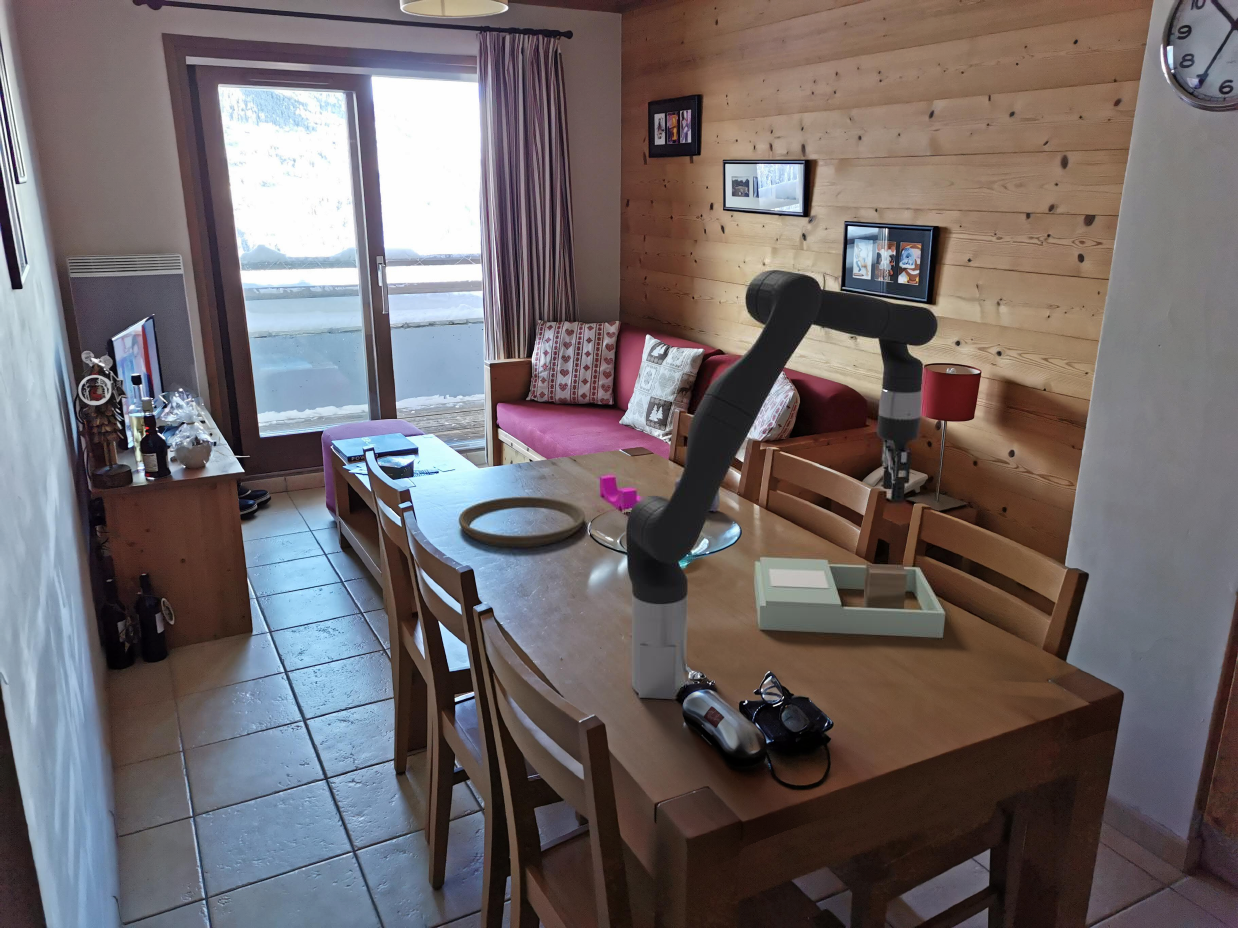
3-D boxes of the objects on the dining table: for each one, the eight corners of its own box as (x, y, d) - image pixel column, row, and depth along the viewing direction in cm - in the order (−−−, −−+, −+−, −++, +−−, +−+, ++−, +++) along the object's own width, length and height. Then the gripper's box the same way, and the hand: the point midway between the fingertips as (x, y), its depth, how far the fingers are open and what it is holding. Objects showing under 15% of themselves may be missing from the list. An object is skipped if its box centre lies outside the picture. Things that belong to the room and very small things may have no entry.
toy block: (645, 516, 234) (645, 488, 232) (623, 519, 231) (623, 491, 229) (620, 499, 247) (620, 473, 245) (600, 502, 244) (599, 476, 242)
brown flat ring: (562, 505, 242) (562, 489, 241) (602, 544, 215) (602, 526, 213) (448, 519, 231) (447, 503, 230) (475, 562, 204) (474, 543, 202)
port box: (942, 637, 167) (946, 607, 166) (759, 629, 171) (760, 599, 169) (917, 589, 188) (919, 562, 187) (754, 583, 192) (755, 556, 190)
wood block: (903, 616, 176) (907, 573, 174) (866, 614, 177) (870, 572, 174) (898, 606, 181) (902, 565, 178) (863, 605, 181) (866, 563, 179)
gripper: (928, 422, 160) (920, 507, 165) (911, 405, 174) (904, 484, 179) (886, 421, 161) (879, 506, 166) (872, 404, 175) (866, 483, 179)
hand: (892, 495), depth 172 cm, fingers open, 8 cm apart
